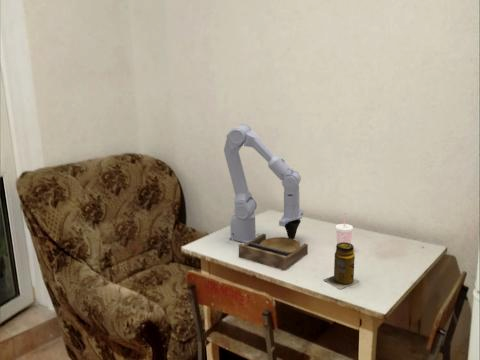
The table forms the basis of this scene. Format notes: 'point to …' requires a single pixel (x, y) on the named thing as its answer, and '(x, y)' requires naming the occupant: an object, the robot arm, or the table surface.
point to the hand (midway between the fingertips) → (291, 238)
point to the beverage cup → (344, 232)
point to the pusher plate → (268, 249)
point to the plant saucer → (281, 244)
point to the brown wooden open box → (271, 254)
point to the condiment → (343, 266)
